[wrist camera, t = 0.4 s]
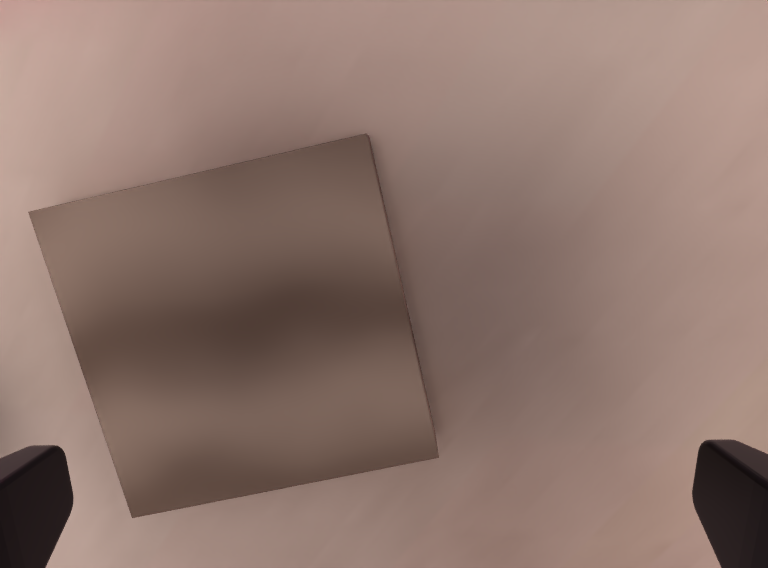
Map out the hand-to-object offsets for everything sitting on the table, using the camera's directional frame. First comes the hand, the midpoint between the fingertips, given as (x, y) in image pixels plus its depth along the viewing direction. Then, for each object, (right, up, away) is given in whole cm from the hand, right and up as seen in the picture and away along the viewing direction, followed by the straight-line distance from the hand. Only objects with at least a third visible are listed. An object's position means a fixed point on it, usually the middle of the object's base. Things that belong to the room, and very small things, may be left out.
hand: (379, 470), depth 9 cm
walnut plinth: (-5, +1, +15) cm, 16 cm away
